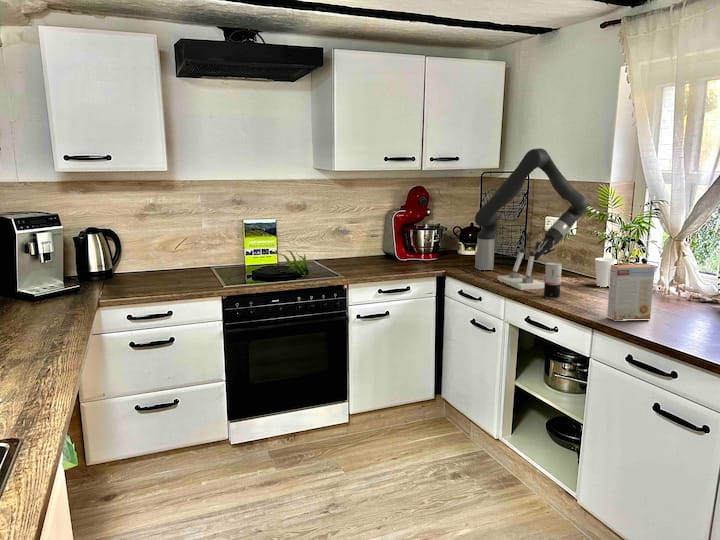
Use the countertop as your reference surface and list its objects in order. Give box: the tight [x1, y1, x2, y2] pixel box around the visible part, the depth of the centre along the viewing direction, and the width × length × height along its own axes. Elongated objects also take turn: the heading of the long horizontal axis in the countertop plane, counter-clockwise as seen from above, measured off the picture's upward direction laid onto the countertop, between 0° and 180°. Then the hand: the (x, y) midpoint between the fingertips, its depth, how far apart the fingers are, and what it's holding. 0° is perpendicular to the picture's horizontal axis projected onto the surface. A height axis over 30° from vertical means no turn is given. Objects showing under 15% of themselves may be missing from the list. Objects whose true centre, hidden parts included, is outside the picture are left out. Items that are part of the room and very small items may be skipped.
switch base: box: [496, 272, 545, 291], centre depth 265 cm, size 13×22×4 cm, turn 15°
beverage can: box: [543, 261, 562, 300], centre depth 238 cm, size 7×7×15 cm
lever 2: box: [524, 250, 536, 278], centre depth 257 cm, size 3×3×13 cm
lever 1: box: [511, 247, 526, 273], centre depth 269 cm, size 3×3×13 cm
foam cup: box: [594, 257, 618, 288], centre depth 257 cm, size 10×9×13 cm
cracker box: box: [606, 263, 655, 320], centre depth 203 cm, size 14×6×21 cm, turn 92°
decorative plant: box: [272, 246, 310, 276], centre depth 294 cm, size 18×30×15 cm, turn 15°
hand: (533, 259), depth 257 cm, fingers closed
